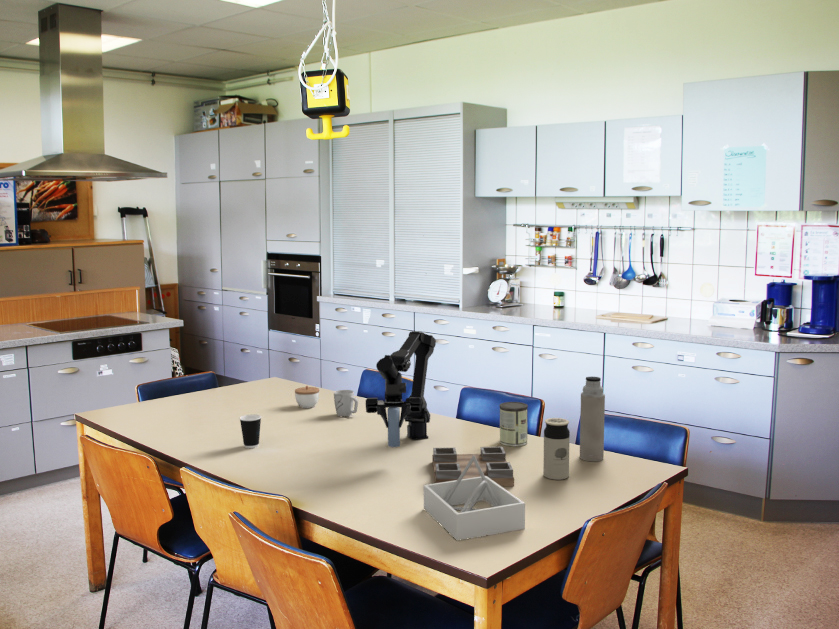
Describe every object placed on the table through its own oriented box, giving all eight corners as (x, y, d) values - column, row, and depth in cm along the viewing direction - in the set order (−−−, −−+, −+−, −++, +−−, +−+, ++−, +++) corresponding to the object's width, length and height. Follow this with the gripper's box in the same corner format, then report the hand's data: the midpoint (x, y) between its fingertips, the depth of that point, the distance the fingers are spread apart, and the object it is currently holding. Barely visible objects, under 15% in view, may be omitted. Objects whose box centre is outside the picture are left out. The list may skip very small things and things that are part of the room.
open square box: (486, 498, 211) (486, 475, 210) (524, 528, 190) (525, 503, 189) (423, 509, 203) (423, 485, 203) (456, 541, 183) (456, 514, 182)
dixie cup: (265, 447, 262) (264, 417, 261) (244, 451, 258) (243, 421, 256) (257, 442, 268) (256, 413, 267) (237, 445, 264) (236, 416, 263)
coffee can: (504, 437, 272) (504, 400, 270) (530, 440, 268) (531, 403, 266) (495, 444, 263) (495, 406, 261) (522, 448, 258) (523, 409, 257)
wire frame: (475, 552, 188) (426, 515, 192) (485, 541, 200) (440, 507, 205) (511, 494, 186) (462, 459, 191) (520, 487, 198) (473, 454, 203)
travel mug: (541, 471, 233) (542, 417, 231) (566, 471, 233) (567, 417, 231) (545, 480, 225) (546, 424, 223) (570, 480, 225) (571, 424, 223)
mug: (363, 415, 305) (363, 392, 304) (351, 419, 298) (351, 396, 297) (342, 411, 311) (342, 388, 310) (330, 416, 304) (329, 392, 303)
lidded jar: (299, 403, 327) (298, 383, 326) (322, 403, 325) (321, 383, 324) (292, 409, 316) (291, 388, 315) (315, 409, 315) (315, 388, 314)
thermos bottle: (581, 453, 252) (582, 374, 249) (604, 455, 249) (606, 375, 246) (578, 460, 244) (579, 379, 241) (602, 462, 242) (604, 380, 238)
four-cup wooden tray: (432, 461, 244) (432, 447, 243) (503, 460, 245) (503, 446, 244) (435, 487, 220) (435, 471, 220) (514, 486, 221) (514, 470, 220)
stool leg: (397, 442, 243) (397, 406, 241) (401, 446, 239) (401, 409, 237) (386, 444, 241) (385, 407, 240) (390, 447, 238) (389, 410, 236)
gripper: (365, 374, 241) (364, 415, 231) (421, 373, 241) (422, 414, 232) (366, 392, 250) (365, 432, 240) (420, 391, 250) (421, 431, 241)
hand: (393, 427), depth 238 cm, fingers closed on stool leg, 4 cm apart
